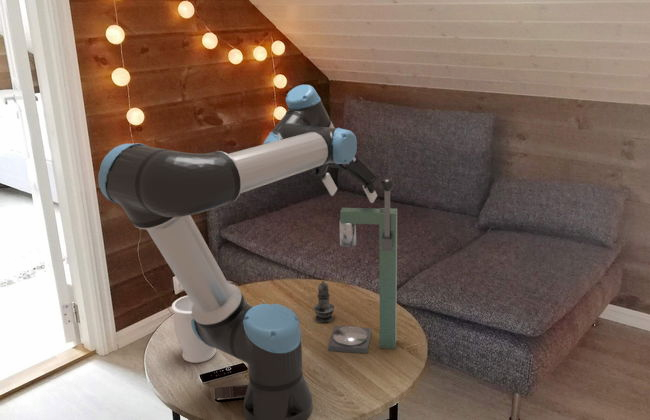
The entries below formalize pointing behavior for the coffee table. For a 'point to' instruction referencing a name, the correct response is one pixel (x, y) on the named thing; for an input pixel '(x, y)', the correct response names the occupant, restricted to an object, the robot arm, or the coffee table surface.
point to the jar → (189, 333)
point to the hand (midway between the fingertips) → (353, 195)
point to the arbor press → (387, 220)
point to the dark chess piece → (324, 305)
